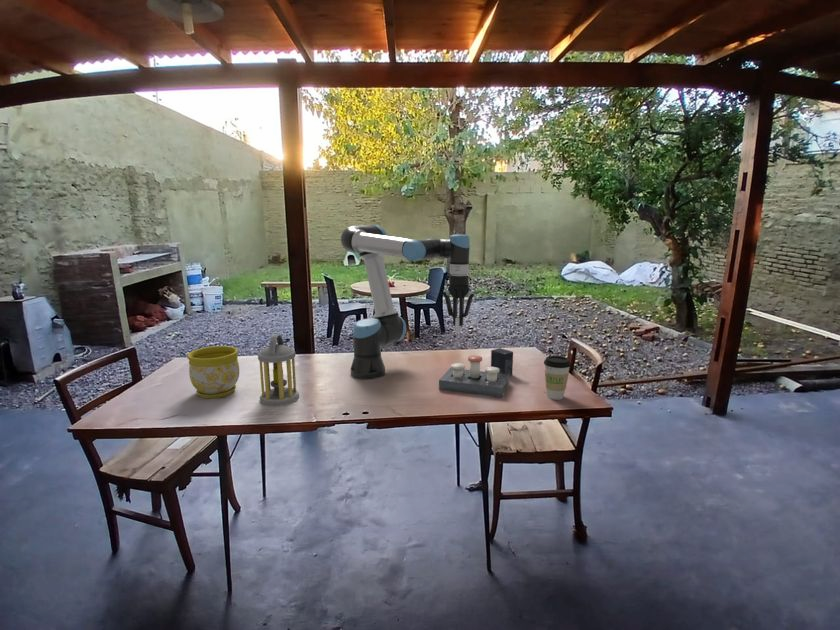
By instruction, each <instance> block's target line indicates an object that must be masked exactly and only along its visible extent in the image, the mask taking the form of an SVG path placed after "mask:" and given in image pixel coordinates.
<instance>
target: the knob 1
mask: <svg viewBox="0 0 840 630" xmlns="http://www.w3.org/2000/svg"><path fill="white" fill-rule="evenodd" d="M450 368H452V369H453V377H459V378H463V369H465V368H466V364H464V363H459V362H457V363H456V362H455V363H451V365H450ZM465 370H466V369H465Z"/></svg>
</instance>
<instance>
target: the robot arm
mask: <svg viewBox="0 0 840 630" xmlns="http://www.w3.org/2000/svg"><path fill="white" fill-rule="evenodd" d="M340 243H341V245H342V247H343V248H344V250H346V251H347V252H350V253H358V254H359V258H360V259H361V260H363V262H364V267H365V271H366V276H367V281H368V284H369V289H370V290H369V291H370V293H371V298H372V299H371V300H372V304H373V308H374V314H373V316H372V318H363V319H359V320H358V321H356V322H355V323H354V324H353V331H352V335H353V337H352V338H353V360H352V363H351V367H350V376H351V377H353V378H355V379H360V380H361V379H362V380H370V379H371V380H373V379H378V378H381V377H383V376H384V375H385V374H386V366H385V363H384V360H383V358H382V347H385V346H389V345H392V344H395V343H397V342H399V341H402V340H403V339H404V337H405V336H406V333H407V325H406V321H405V320H404V319H403V317H402V316H400V315H399V311H397V310H396V309H395V307H394V303H393V298H392V295H391V294H392V293H391V289H390V285H389V284H390V283H389V279H388V274H387V270H386V265H385V260H384V256H391V257H397V258H404V259H406V260H407V261H410V262H419V261H423V260H424V261H425V260H433V259H449V274H450V275H449V277H448V278H449V279H448V281H449V283H448V285H449V286H448V288H447V289H446V290H445V291H444V290H443V292H442V295H443V297H444V301H445V305H446V309H447V313H448V316H450V317H452V326H454V334H455V335H460V334H461V331H462V330H461V327H462V326H463V325H464V318H466V317H468V315H469V313H470V308H471V305H472V302H473V299H474V297H475V295H476V292H472V291H471V289H470V286H469V282H470V280H469V278H470V276H469V274H470V249H471V245H470V236H469V235H468V234H460V233H459V234H458V233H457V234H451V235H450V236H449V239H445V238H428V239H413V238H412V239H411V238H406V237H405V238H404V237H398V236H391V235H390V236H389V235H388V234H387V232H386V231H385V229H384V228H383V227H381V226H380V225H377V224H363V225H355V224H354V225H350V226H347V227H346V228H345V229H344V230H342V233H341V235H340ZM450 296H451V297H452V301H451V297H450ZM466 296H467V297H468V298H467V301H466V305H465V298H466ZM458 302H459V303H458ZM458 304H459V307H458ZM464 306H465V307H464ZM458 312H459V313H458Z"/></svg>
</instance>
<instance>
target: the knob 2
mask: <svg viewBox="0 0 840 630" xmlns="http://www.w3.org/2000/svg"><path fill="white" fill-rule="evenodd" d="M484 372H486V373H487V381H493V382H497V373H499V368H497V367H491V366H487V367H485V369H484Z"/></svg>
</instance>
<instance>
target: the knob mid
mask: <svg viewBox="0 0 840 630" xmlns="http://www.w3.org/2000/svg"><path fill="white" fill-rule="evenodd" d="M467 360H468V361H469V370H470V377H471V378H479V377H480V371H481V362H482V361H483V356H481V355H469V356H467Z"/></svg>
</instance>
